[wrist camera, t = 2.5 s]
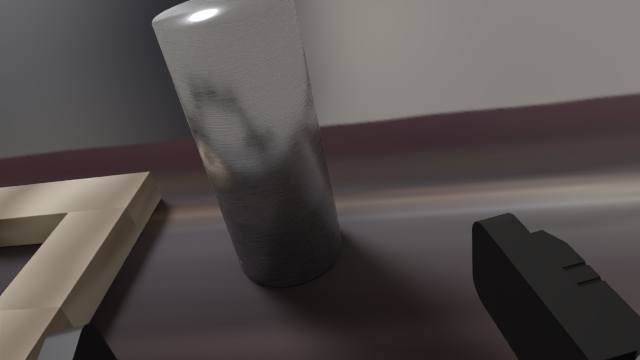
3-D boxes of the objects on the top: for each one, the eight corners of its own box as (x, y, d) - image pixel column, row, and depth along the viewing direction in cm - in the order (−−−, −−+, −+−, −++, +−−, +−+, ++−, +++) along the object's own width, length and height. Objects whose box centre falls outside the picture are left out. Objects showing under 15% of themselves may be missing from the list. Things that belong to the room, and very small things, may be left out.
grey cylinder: (353, 269, 22) (302, 3, 16) (242, 299, 22) (143, 41, 15) (329, 203, 27) (282, -24, 20) (238, 226, 26) (159, 4, 20)
